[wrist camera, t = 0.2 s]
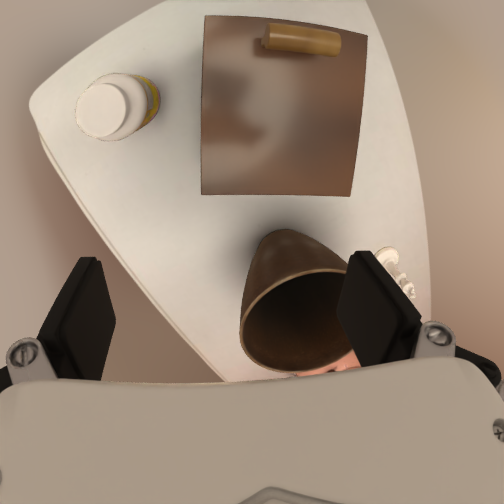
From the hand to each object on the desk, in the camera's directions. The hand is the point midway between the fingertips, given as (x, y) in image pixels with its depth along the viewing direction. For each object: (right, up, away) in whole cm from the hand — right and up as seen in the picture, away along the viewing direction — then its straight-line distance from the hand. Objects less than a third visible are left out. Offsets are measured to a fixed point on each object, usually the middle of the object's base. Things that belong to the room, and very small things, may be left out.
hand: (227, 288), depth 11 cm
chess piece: (+23, 0, +37) cm, 44 cm away
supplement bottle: (-13, +19, +21) cm, 31 cm away
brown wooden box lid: (+4, +13, +12) cm, 19 cm away
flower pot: (+5, +1, +34) cm, 34 cm away
